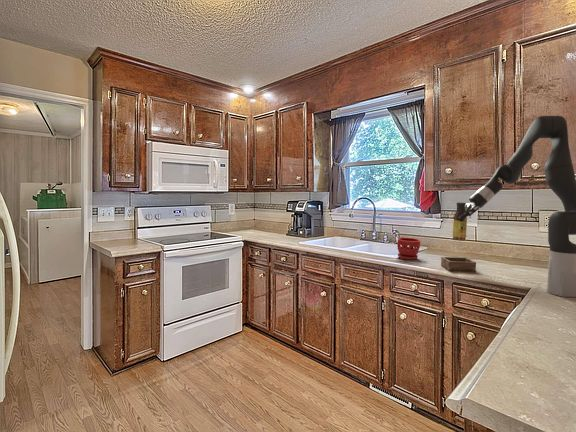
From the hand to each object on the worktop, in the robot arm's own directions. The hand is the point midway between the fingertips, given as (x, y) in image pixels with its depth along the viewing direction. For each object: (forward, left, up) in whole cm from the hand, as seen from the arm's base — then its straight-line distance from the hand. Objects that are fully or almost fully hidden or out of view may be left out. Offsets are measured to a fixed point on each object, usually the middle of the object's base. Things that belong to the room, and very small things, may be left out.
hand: (456, 219), depth 170 cm
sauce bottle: (0, -2, -11) cm, 11 cm away
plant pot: (+24, +18, -27) cm, 40 cm away
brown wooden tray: (0, -2, -26) cm, 26 cm away
